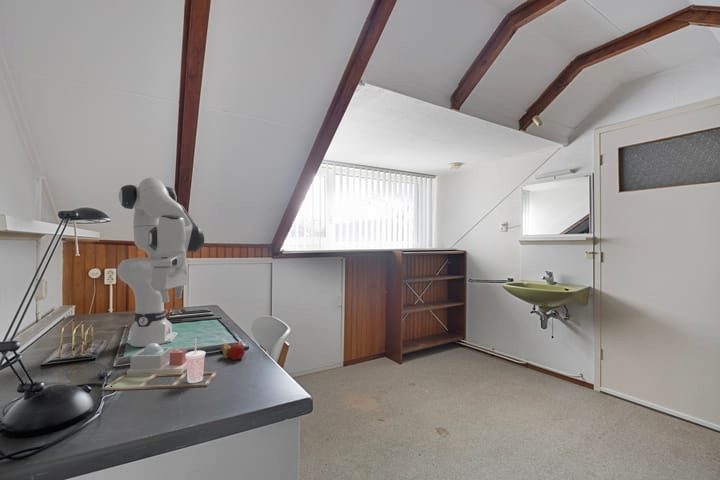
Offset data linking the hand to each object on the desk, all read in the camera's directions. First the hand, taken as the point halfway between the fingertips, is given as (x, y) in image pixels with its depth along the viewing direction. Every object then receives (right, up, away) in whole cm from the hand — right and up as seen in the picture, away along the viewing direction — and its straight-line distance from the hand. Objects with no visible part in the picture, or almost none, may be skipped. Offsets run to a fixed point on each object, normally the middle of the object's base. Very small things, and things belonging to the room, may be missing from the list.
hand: (172, 300), depth 119 cm
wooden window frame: (0, -26, -6) cm, 27 cm away
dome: (-10, -24, +6) cm, 26 cm away
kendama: (+13, -27, +20) cm, 36 cm away
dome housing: (-7, -26, +6) cm, 27 cm away
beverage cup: (+10, -26, -5) cm, 29 cm away
